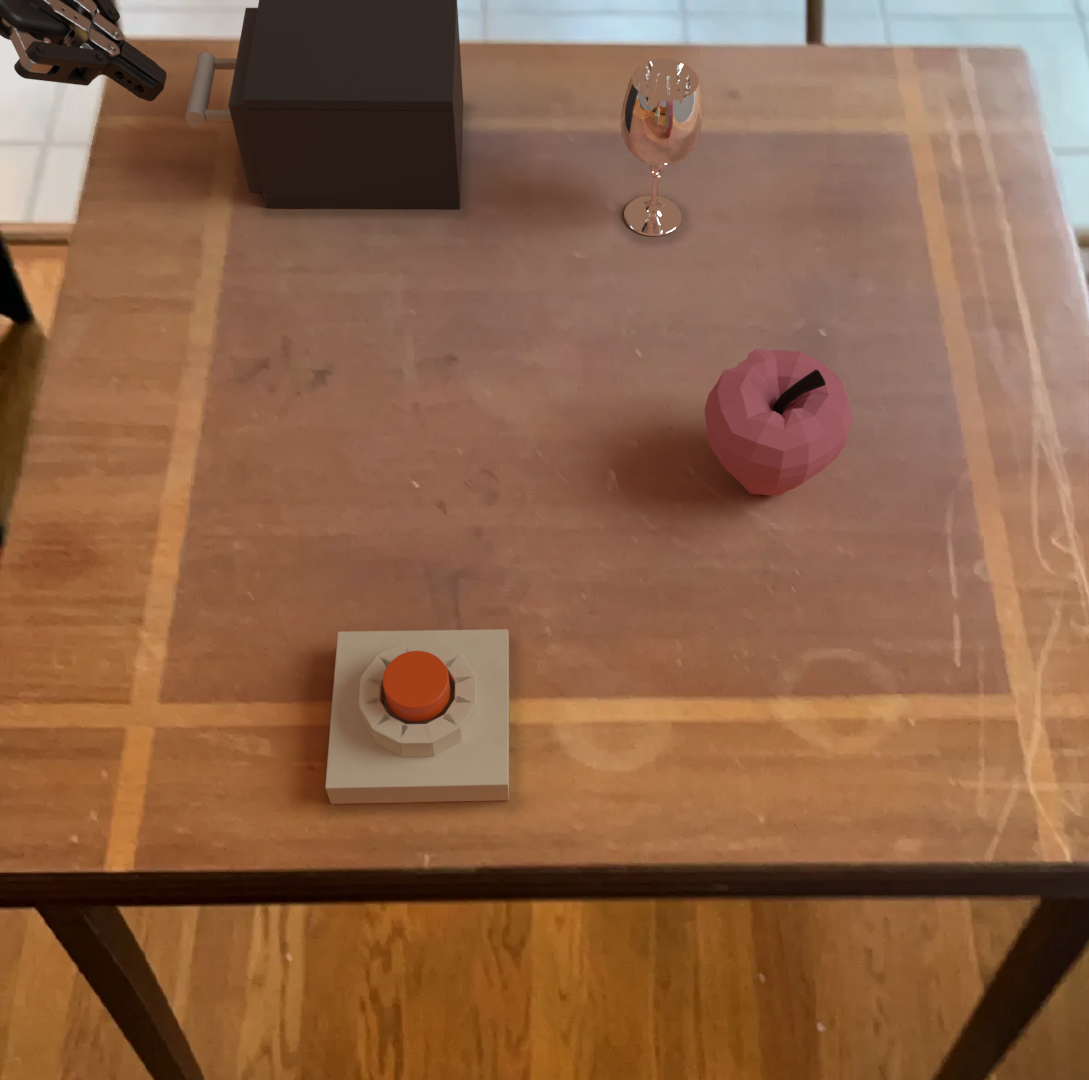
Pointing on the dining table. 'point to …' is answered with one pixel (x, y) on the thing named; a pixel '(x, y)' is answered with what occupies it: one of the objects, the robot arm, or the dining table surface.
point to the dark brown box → (356, 103)
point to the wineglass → (660, 134)
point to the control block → (427, 746)
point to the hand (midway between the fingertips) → (159, 88)
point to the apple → (777, 420)
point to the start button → (416, 686)
